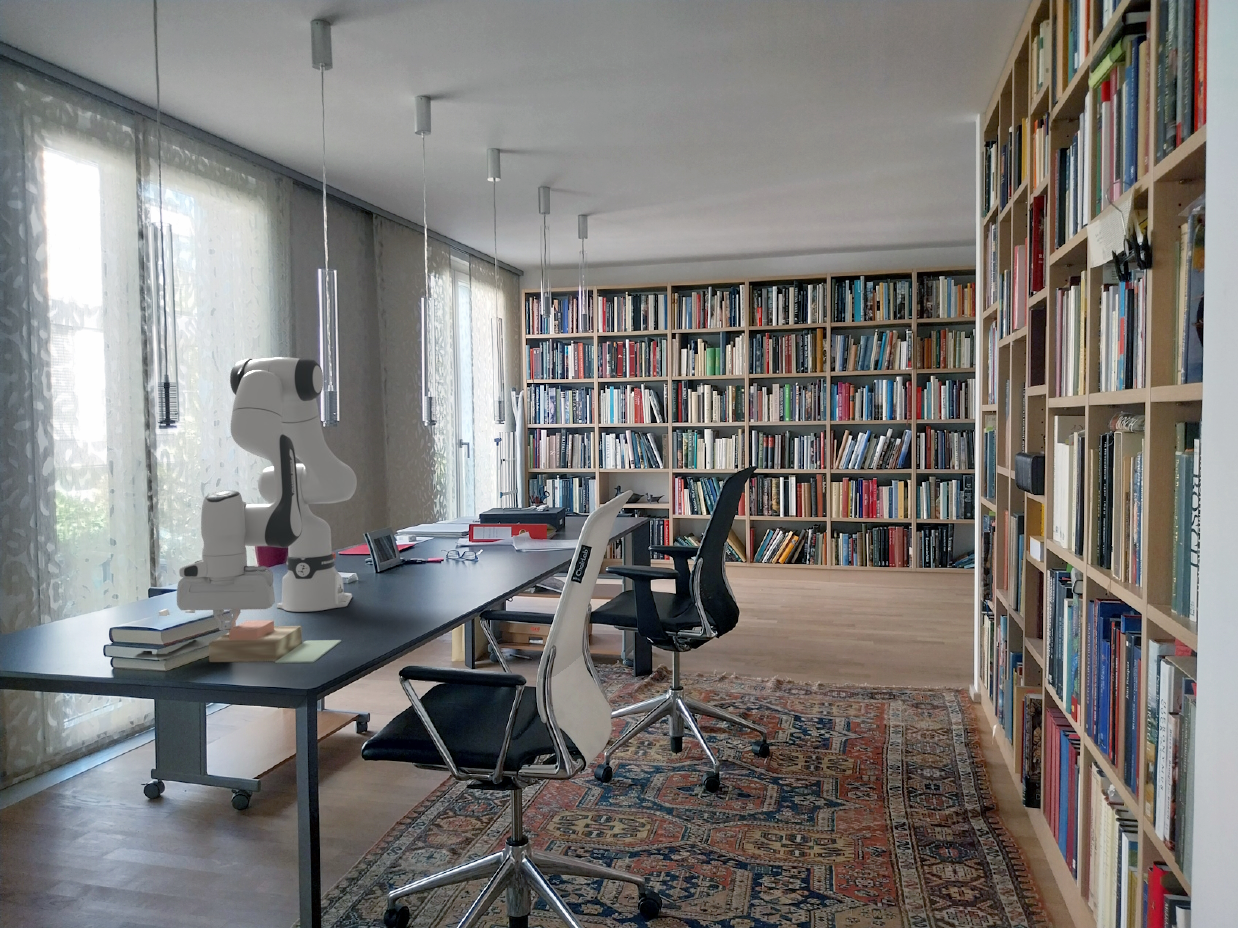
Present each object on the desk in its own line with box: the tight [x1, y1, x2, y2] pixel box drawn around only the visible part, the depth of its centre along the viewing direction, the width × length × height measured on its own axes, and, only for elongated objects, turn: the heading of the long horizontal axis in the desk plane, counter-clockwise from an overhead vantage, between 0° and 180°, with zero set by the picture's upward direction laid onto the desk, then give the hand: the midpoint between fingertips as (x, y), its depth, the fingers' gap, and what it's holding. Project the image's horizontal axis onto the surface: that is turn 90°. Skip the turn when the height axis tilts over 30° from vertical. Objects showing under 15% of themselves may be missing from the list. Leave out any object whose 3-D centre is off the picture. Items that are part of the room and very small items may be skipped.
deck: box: [208, 625, 303, 663], centre depth 196 cm, size 15×14×4 cm
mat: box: [274, 639, 342, 664], centre depth 196 cm, size 18×8×1 cm, turn 179°
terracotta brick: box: [228, 620, 275, 640], centre depth 196 cm, size 9×6×2 cm, turn 179°
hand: (227, 629), depth 196 cm, fingers closed
